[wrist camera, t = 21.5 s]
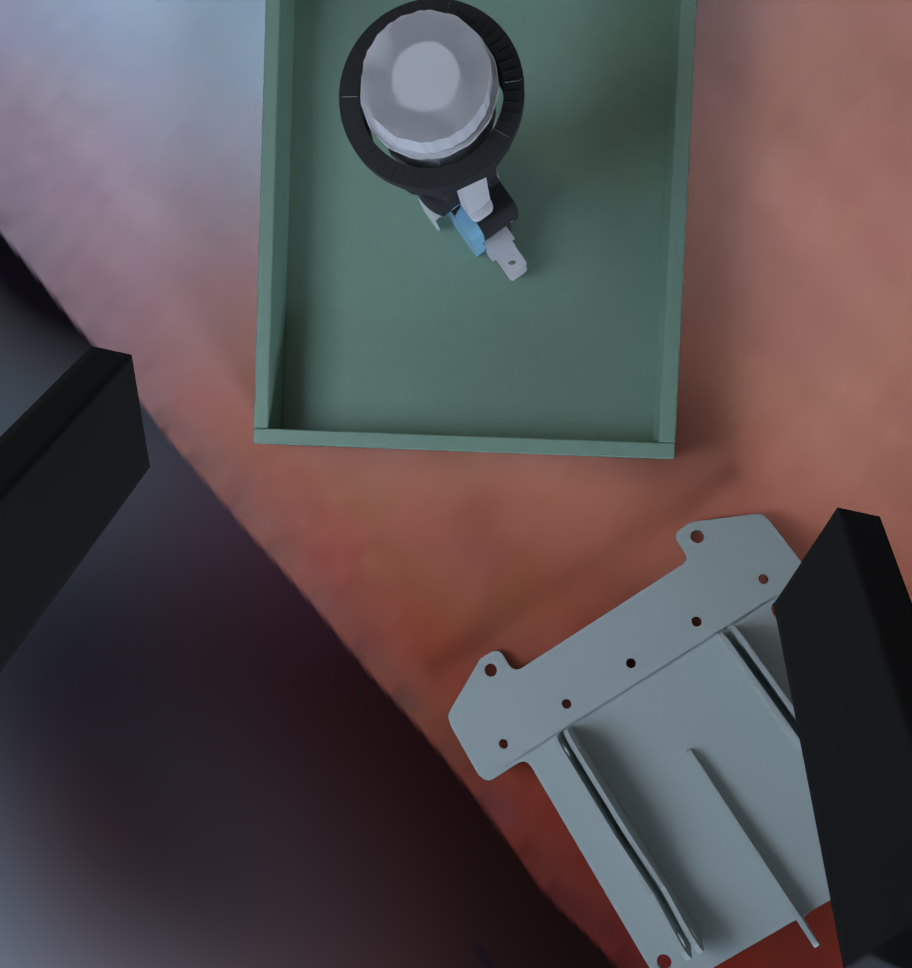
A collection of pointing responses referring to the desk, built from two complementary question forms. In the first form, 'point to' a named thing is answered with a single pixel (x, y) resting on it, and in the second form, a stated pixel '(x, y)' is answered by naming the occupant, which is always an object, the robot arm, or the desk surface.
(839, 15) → the desk surface
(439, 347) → the tray
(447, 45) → the push button
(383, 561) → the desk surface
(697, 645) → the metal bracket
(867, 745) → the robot arm
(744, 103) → the desk surface
